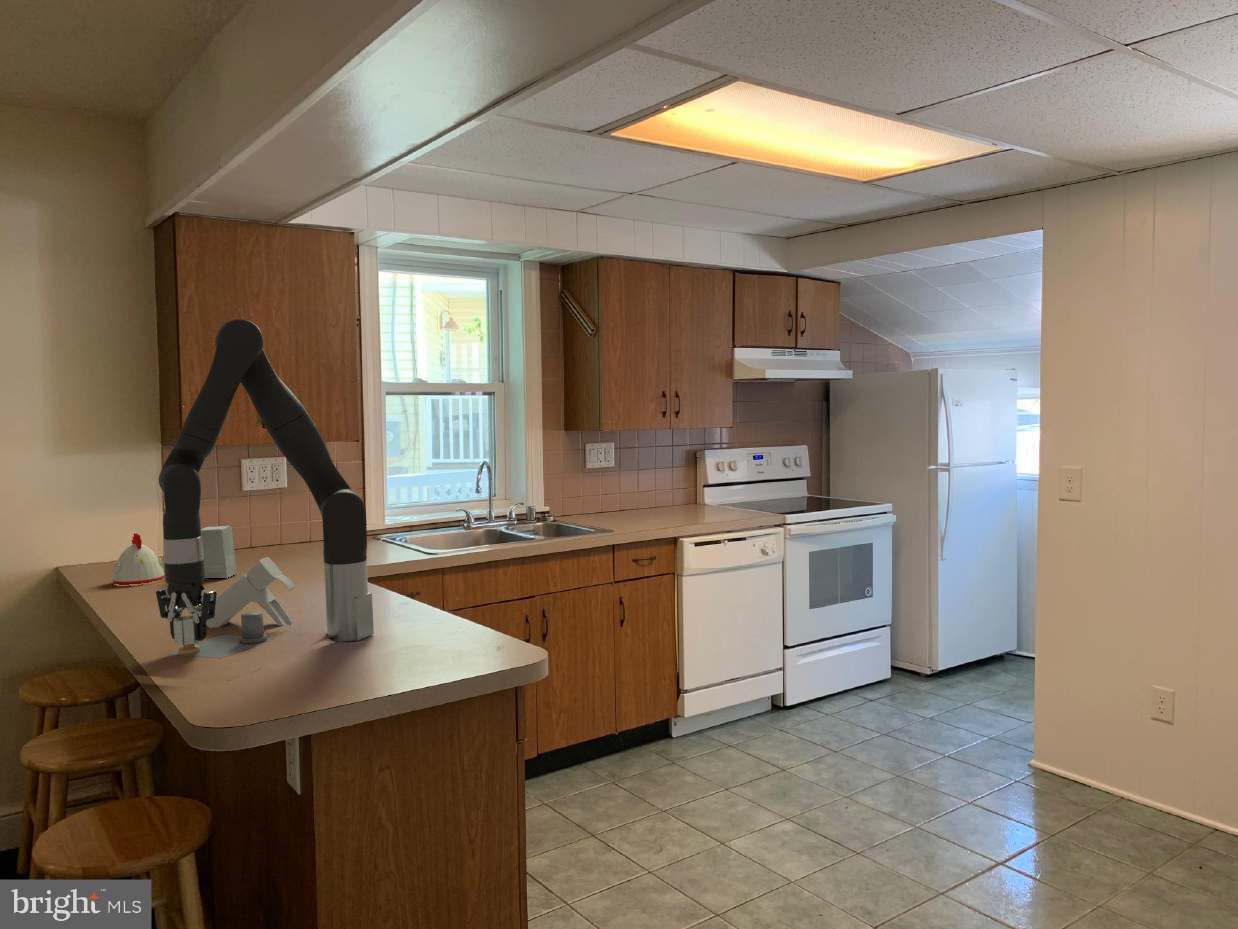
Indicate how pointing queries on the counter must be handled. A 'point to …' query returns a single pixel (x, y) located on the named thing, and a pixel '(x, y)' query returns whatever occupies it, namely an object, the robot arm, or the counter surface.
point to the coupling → (184, 630)
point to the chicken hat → (137, 565)
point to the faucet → (252, 595)
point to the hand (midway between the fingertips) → (188, 638)
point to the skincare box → (218, 552)
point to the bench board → (229, 640)
